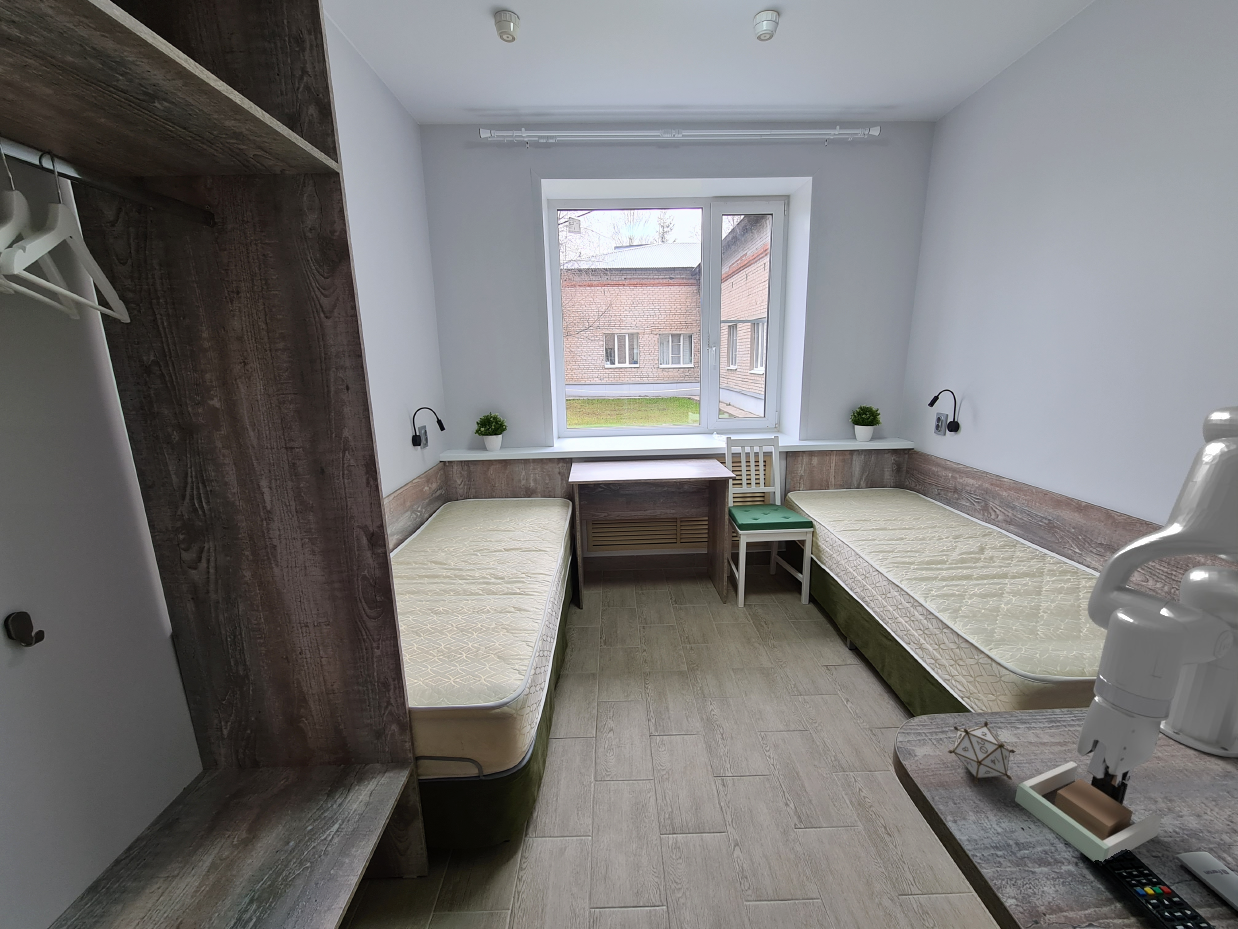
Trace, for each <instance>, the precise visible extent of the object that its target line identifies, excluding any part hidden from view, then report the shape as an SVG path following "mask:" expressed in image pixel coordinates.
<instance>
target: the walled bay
mask: <svg viewBox="0 0 1238 929" xmlns="http://www.w3.org/2000/svg"><path fill="white" fill-rule="evenodd" d="M1078 766H1079V765H1078V764H1077V763H1075V762H1074V761H1071V760H1070V761H1069V762H1067V763H1065V764H1062V765H1059V766H1058V767H1056V768H1053V769H1051V770H1048V771H1046V772H1043V773H1042V774H1039V775H1037V776H1035V777H1032V778H1030V779H1028V780H1025V781H1023V782H1020V783H1018V784H1017V788H1016V794H1015V797H1014V798H1015V799H1014V802H1016V803H1017V804H1019V805H1020V806H1021V807H1023V808H1024V809H1025V810H1027V812H1029V813H1030V814H1032V816H1034V817H1036V818H1037V819H1038V820H1040V822H1042V823H1043V824H1045V825H1046V826H1047V827H1049V828H1050V829H1051V830H1053V832H1055V833H1056V834H1057V835H1059V836H1060V837H1061V838H1063V839H1064V840H1065V841H1067V842H1068V843H1069V844H1071V846H1073V847H1074V848H1076V849H1077V850H1078V851H1079V852H1081V853H1082V854H1083V855H1085V856H1086V858H1087V857H1088V858H1089V859H1090V860H1091V861H1092V862H1094V861H1095V860H1099V861H1102V862H1103V861H1104V860H1105V859H1108V858H1110V857H1111V856H1113V855H1114V854H1116V853H1118V852H1120V851H1121V850H1125V849H1127V850H1130V851H1132V850H1133V849H1136V848H1137V847H1139V846H1140V845H1143V844H1145V843H1146V842H1148V841H1150V840H1152V839H1153V838H1155V837H1157V836H1158V833H1159V829H1160V826H1161V822H1162V818H1161V817H1160V816H1158V815H1157V814H1155V813H1152V814H1151V815H1148V816H1147V817H1145V818H1143V819H1141V820H1140V821H1137V822H1135V823H1134V824H1132V825H1129V827H1128V828H1126V829H1124V830H1122V831H1120V832H1118V833H1117V834H1115V835H1113V836H1111V837H1109V838H1107V839H1105V840H1103V841H1102V840H1100V839H1099V838H1098V837H1096V836H1095V835H1093V834H1092V833H1091V832H1089V831H1088V830H1087V829H1085V828H1084V827H1082V826H1081V825H1080V824H1078V823H1077V822H1076V821H1074V820H1073V819H1072V818H1070V817H1069V816H1067V815H1066V814H1065V813H1063V812H1062V811H1061V810H1059V809H1058V808H1057V807H1055V806H1054V804H1052V803H1051V802H1050V801H1048V800H1047V799H1046V798H1044V797H1043V796H1044V795H1045V794H1046V795H1047V794H1048V793H1050V792H1053V791H1054V790H1056V789H1059V788H1061V787H1064V786H1066V785H1067V784H1068V785H1069V784H1071V783H1073V782H1075V778H1076V775H1077V772H1078V771H1077V770H1078Z"/></svg>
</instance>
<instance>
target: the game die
mask: <svg viewBox="0 0 1238 929" xmlns="http://www.w3.org/2000/svg"><path fill="white" fill-rule="evenodd" d="M983 724H984V725H981V726H974V727H966V728H960V729H959V728H958V726H956V725H953V726H952V727H953V729H954V730H955V731H957V732H956V735H955V739H954V744H953V749H948V751H947V753H949V754H951V755H952V754H954V755H955V756H956V757H957V758H958V760H959V761H960V762H961V764H963V766H964V767H965V768H967V769H968V771H969V772H970V773H971V774H972V775H973V777H974V778H973V779H974V780H973V781H974V784H975V785H976V784H977V783H978V781H979V779H985V778H996V777H1004V776H1005V777H1006V778H1007V779H1008V780H1010V781H1013V779H1012V776H1011V775H1009V774H1008V772H1009V762H1010V756H1011V754H1015V753H1016V750H1014V749H1013V748H1012V749H1009V748H1008V747H1007V746H1006V744H1004V743H1003V742H1002V741H1001V740H1000V739H999V738H998V737H997V736H996V735H995V733H993V731H991V729H990V728H989V727H988V725H989V723H988V720H986V721H984V722H983Z"/></svg>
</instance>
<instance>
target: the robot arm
mask: <svg viewBox="0 0 1238 929" xmlns="http://www.w3.org/2000/svg"><path fill="white" fill-rule="evenodd" d="M1202 436H1203V440H1204V442H1205V444H1203V445H1202V446H1201V447H1200V448H1199V450H1198V451H1197V453H1195V456H1194V459H1193V461H1192V463H1191V465H1190V468H1189V470H1188V473H1187V474H1186V477H1185V479H1184V482H1183V483H1182V486H1181V489H1180V491H1179V493H1178V495H1177V498H1176V500H1175V502H1174V505H1173V507H1172V508H1171V511H1170V513H1169V516H1168V518H1167V521H1166V523H1165V524H1164V526H1162V527H1161V528H1160V529H1157V530H1156V531H1154V532H1151V533H1148V534H1146V535H1143V536H1141V537H1138V538H1136V539H1134V540H1132V541H1129V542H1128V543H1127V544H1125V545H1124V546H1122V547H1120V548H1119V549H1118V550H1117V551H1115V552H1114V553H1113V554H1112V555H1111V556H1110V557H1109V558H1108V559H1107V560H1106V562H1105V564H1104V565H1103V566H1102V568H1101V570H1100V573H1099V575H1098V577H1097V579H1096V582H1095V584H1094V586H1093V589H1092V591H1091V593H1090V596H1089V600H1088V603H1087V614H1088V617H1089V619H1090V620H1091V621H1092V622H1093V623H1094V624H1095V625H1096V626H1097V627H1099V628H1101V629H1104V630H1105V631H1106V634H1105V639H1104V644H1103V647H1102V651H1101V657H1100V660H1099V663H1098V664H1099V665H1098V668H1097V674H1096V679H1095V683H1094V685H1093V693H1094V694H1095V696H1094V698H1093V699H1092V701H1091V703H1090V705H1089V707H1088V709H1087V712H1086V715H1085V717H1084V719H1083V723H1082V726H1081V729H1080V732H1079V735H1078V739H1077V742H1076V746H1075V753H1077V755H1079V756H1081V757H1084V756H1086V755H1089V754H1091V753H1093V754H1092V757H1091V759H1090V761H1089V763H1088V766H1087V768H1086V772H1087V773H1089V774H1090V775H1092V780H1091V783H1090V785H1092V786H1093V787H1095V788H1096V789H1098V790H1099V791H1101V792H1103V793H1104V794H1106V795H1107V796H1109V797H1110V798H1112V799H1114V800H1115V801H1117V802H1118V803H1120V804H1121V805H1123V804H1124V800H1125V797H1126V793H1127V789H1128V782H1129V781H1130V780H1131V778H1132V775H1133V773H1134V769H1136V768H1137V767H1139V766H1141V765H1143V764H1145V763H1147V762H1148V761H1149V760H1151V759H1152V757H1153V756H1154V753H1155V750H1156V747H1157V744H1158V740H1159V735H1160V732H1161V733H1163V734H1164V735H1166V736H1167V737H1169V738H1171V739H1173V740H1175V741H1177V742H1178V743H1181V744H1183V745H1185V746H1187V747H1190V748H1192V749H1196V750H1197V751H1201V752H1204V753H1206V754H1212V755H1215V756H1221V757H1228V758H1238V569H1236V568H1230V567H1225V566H1218V565H1199V566H1195V567H1193V568H1190V569H1189V570H1187V571H1186V572H1185V573H1184V574H1183V576H1182V579H1181V581H1180V585H1179V602H1178V601H1174V600H1171V599H1169V598H1164V597H1162V596H1158V595H1155V594H1152V593H1149V592H1145V591H1142V590H1139V589H1135V588H1132V587H1129V586H1128V583H1129V580H1130V579H1131V577H1132V576H1133V575H1134V573H1135V572H1136V571H1137V570H1138V569H1140V568H1141V567H1143V566H1145V565H1147V564H1149V563H1152V562H1154V561H1159V560H1162V559H1166V558H1175V557H1181V556H1182V557H1183V556H1205V555H1207V556H1208V555H1209V556H1213V555H1215V556H1216V557H1217V558H1219V559H1221V560H1222V559H1223V560H1224V561H1228V562H1231V563H1235V564H1238V405H1237V406H1236V405H1235V406H1227V407H1226V406H1225V407H1220V408H1216V409H1214V410H1212V411H1210V412H1209V413H1208V414H1207V415H1206V416H1205V417H1204V421H1203V423H1202ZM1123 806H1124V805H1123Z"/></svg>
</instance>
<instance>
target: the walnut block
mask: <svg viewBox="0 0 1238 929" xmlns="http://www.w3.org/2000/svg"><path fill="white" fill-rule="evenodd" d="M1053 805H1054V806H1055V807H1057V808H1058V809H1059V810H1061V811H1062V812H1063V813H1065V814H1066V815H1067V816H1069V817H1070V818H1072V819H1073V820H1074V821H1076V822H1077V823H1078V824H1080V825H1081V826H1082V827H1084V828H1085V829H1087V830H1088V831H1089V832H1091V833H1092V834H1093V835H1095V836H1096V837H1098V838H1099V839H1100V840H1102V841H1103V840H1105V839H1107V838H1109V837H1111V836H1113V835H1115V834H1117V833H1118V832H1120V831H1122V830H1124V829H1126V828H1128V827H1130V823H1131V821H1132V815H1133V813H1134V812H1133V811H1132V810H1131V809H1130V808H1128V807H1127V806H1125V805H1121V804H1120V803H1118V802H1117V801H1115V800H1114V799H1112V798H1110V797H1109V796H1107V795H1106V794H1104V793H1103V792H1101V791H1099V790H1098V789H1096V788H1095V787H1093V786H1092V785H1091V783H1088V782H1087V781H1085V780H1084V779H1082V778H1079V779H1077V780H1076V781H1075V780H1074V781H1072V782H1071V783H1069V784H1068V785H1067V786H1066V785H1065V786H1063V788H1061V789H1059V790H1057V791H1056V796H1055V800H1054V804H1053Z"/></svg>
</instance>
